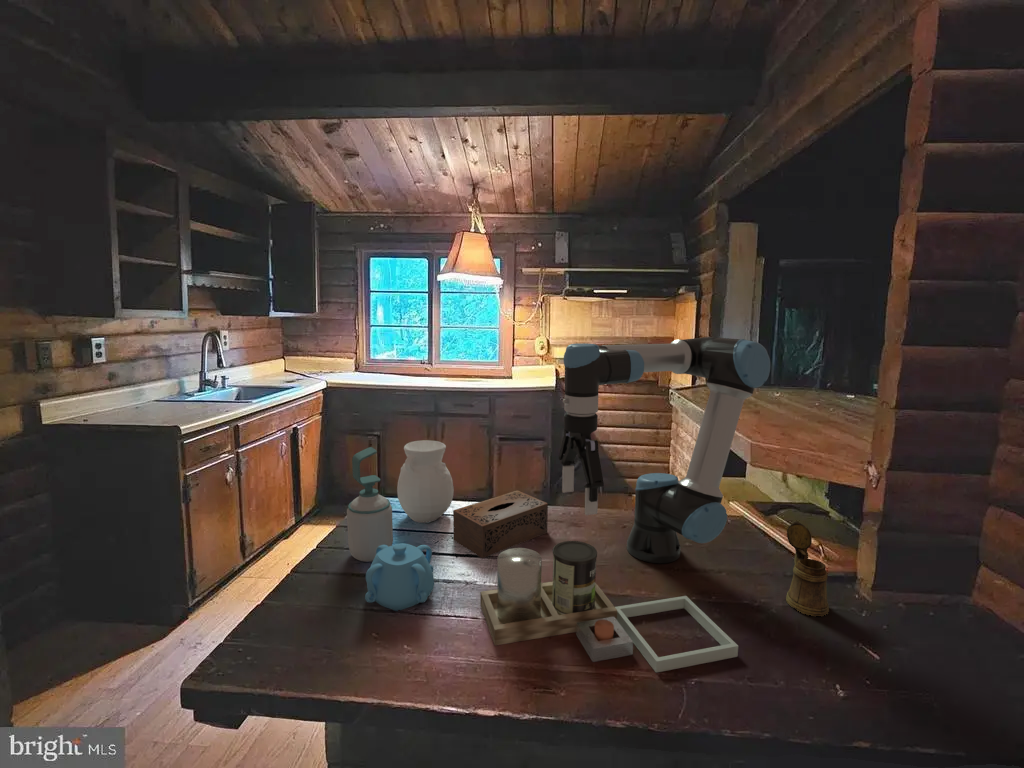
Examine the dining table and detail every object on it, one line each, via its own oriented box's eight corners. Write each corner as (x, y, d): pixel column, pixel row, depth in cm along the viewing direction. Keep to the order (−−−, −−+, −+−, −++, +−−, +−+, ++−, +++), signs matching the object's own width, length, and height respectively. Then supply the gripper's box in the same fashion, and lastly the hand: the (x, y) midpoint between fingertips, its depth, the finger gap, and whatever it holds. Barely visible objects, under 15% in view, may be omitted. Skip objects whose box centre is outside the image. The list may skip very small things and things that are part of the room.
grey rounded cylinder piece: (533, 599, 128) (534, 545, 125) (546, 624, 118) (547, 566, 116) (492, 605, 125) (493, 550, 123) (503, 631, 116) (503, 572, 113)
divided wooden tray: (590, 589, 134) (590, 576, 134) (616, 625, 120) (617, 610, 119) (480, 605, 127) (480, 591, 126) (494, 645, 113) (494, 629, 112)
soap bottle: (400, 557, 150) (397, 451, 144) (356, 569, 143) (351, 459, 138) (384, 540, 160) (380, 441, 155) (343, 551, 153) (338, 447, 148)
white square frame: (685, 605, 128) (685, 595, 128) (737, 656, 110) (738, 645, 110) (613, 616, 123) (614, 607, 123) (655, 672, 105) (656, 661, 105)
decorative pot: (441, 581, 138) (440, 532, 135) (425, 618, 122) (424, 564, 120) (380, 578, 139) (378, 529, 137) (357, 614, 123) (355, 560, 121)
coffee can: (596, 596, 129) (598, 542, 127) (593, 621, 119) (596, 564, 117) (554, 591, 131) (555, 538, 129) (548, 615, 121) (549, 558, 119)
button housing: (613, 628, 119) (613, 616, 118) (632, 654, 110) (633, 641, 110) (576, 634, 116) (576, 622, 116) (592, 662, 108) (593, 648, 107)
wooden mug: (806, 586, 137) (813, 520, 134) (836, 617, 124) (845, 546, 121) (771, 585, 137) (778, 520, 134) (797, 616, 124) (805, 545, 121)
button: (608, 635, 116) (608, 618, 115) (616, 646, 112) (617, 629, 111) (591, 638, 115) (591, 621, 114) (598, 649, 111) (599, 632, 110)
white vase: (428, 534, 164) (427, 457, 160) (386, 520, 174) (383, 447, 170) (465, 513, 180) (464, 442, 176) (424, 502, 190) (422, 434, 185)
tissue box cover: (482, 559, 150) (482, 526, 148) (453, 541, 161) (453, 510, 159) (547, 533, 166) (547, 503, 165) (517, 518, 177) (517, 490, 175)
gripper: (546, 402, 129) (545, 484, 133) (588, 427, 106) (585, 527, 109) (574, 400, 131) (573, 482, 135) (622, 425, 108) (618, 522, 111)
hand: (578, 502), depth 122 cm, fingers open, 13 cm apart
